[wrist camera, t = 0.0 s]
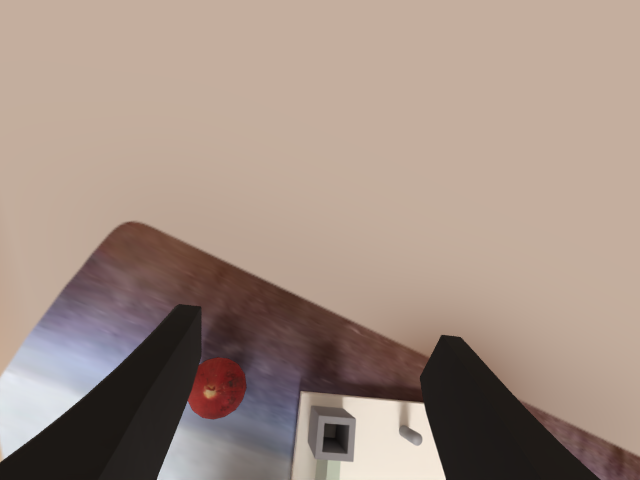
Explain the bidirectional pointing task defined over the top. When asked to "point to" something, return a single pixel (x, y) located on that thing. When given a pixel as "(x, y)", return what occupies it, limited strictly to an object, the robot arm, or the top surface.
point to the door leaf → (331, 440)
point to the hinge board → (372, 439)
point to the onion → (217, 388)
